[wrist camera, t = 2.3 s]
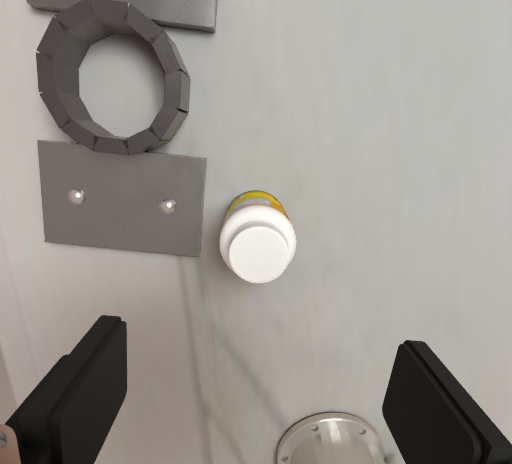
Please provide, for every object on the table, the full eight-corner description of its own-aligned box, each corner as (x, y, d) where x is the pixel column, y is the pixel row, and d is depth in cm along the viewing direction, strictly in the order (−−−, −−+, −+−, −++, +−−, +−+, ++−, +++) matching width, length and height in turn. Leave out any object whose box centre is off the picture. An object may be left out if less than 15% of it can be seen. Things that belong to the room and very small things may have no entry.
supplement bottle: (285, 245, 31) (301, 294, 21) (227, 246, 31) (217, 296, 21) (285, 187, 30) (303, 213, 20) (225, 189, 30) (212, 215, 20)
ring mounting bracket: (26, -138, 23) (-12, -185, 19) (224, -108, 23) (220, -148, 20) (52, 237, 31) (28, 250, 27) (200, 252, 31) (194, 266, 28)
